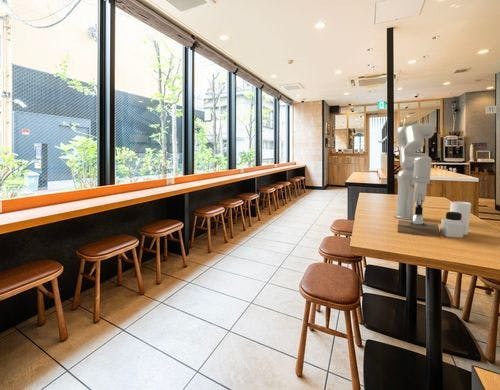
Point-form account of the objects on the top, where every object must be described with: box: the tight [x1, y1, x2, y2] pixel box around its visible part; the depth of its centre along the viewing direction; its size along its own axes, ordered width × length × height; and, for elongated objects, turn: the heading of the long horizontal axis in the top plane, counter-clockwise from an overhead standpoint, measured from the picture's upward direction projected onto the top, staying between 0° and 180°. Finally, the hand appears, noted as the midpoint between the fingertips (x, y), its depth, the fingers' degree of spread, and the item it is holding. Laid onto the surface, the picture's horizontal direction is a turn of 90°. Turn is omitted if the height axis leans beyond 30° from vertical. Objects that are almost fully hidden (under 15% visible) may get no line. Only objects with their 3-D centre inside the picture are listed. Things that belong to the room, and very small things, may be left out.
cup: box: [449, 200, 472, 236], centre depth 133 cm, size 8×8×16 cm
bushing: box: [412, 213, 424, 226], centre depth 136 cm, size 5×5×9 cm
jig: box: [397, 219, 440, 238], centre depth 137 cm, size 12×18×4 cm, turn 57°
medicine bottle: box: [439, 211, 465, 239], centre depth 128 cm, size 7×7×12 cm
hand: (418, 214), depth 135 cm, fingers closed
